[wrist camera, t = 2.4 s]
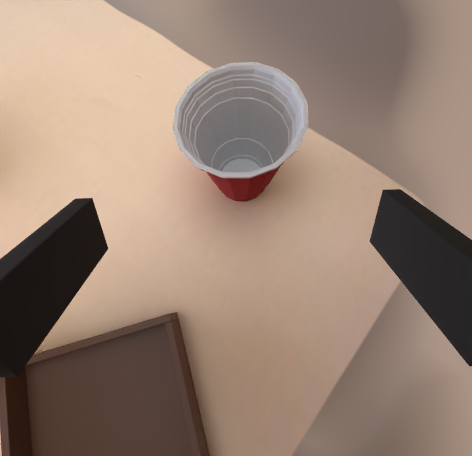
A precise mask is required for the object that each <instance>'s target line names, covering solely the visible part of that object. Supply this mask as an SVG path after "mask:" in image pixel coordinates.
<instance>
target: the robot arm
mask: <svg viewBox="0 0 472 456" xmlns="http://www.w3.org/2000/svg"><path fill="white" fill-rule="evenodd" d="M370 242H371V244H372V245H373V246H374V247H375V249H376V250H377V251H378V252H379V254H380V255H381V256H382V257H383V259H384V260H385V261H386V262H387V264H388V265H389V266H390V267H391V269H392V270H393V271H394V272H395V274H396V275H397V276H398V277H399V279H400V280H401V281H402V282H403V284H404V285H405V286H406V287H407V289H408V290H409V291H410V293H411V294H412V295H413V296H414V297H415V299H416V300H417V301H418V303H419V304H420V305H421V306H422V307H423V309H424V310H425V311H426V312H427V314H428V315H429V316H430V317H431V319H432V320H433V321H434V323H435V324H436V325H437V326H438V328H439V329H440V330H441V331H442V332H443V334H444V335H445V336H446V337H447V339H448V340H449V341H450V342H451V344H452V345H453V346H454V347H455V349H456V350H457V351H458V353H459V354H460V355H461V356H462V358H463V359H464V360H465V361H466V363H467V364H468V365H469V366H472V240H471V239H469V238H468V237H467V236H465V235H464V234H462V233H461V232H460V231H458V230H457V229H455V228H454V227H453V226H451V225H450V224H448V223H447V222H445V221H444V220H443V219H441V218H440V217H438V216H437V215H436V214H434V213H433V212H431V211H430V210H429V209H427V208H426V207H424V206H423V205H421V204H420V203H419V202H417V201H416V200H414V199H413V198H412V197H410V196H409V195H407V194H406V193H405V192H403V191H402V190H400V189H396V190H383V192H382V196H381V200H380V204H379V207H378V211H377V215H376V219H375V223H374V227H373V231H372V235H371V238H370ZM107 250H108V246H107V243H106V240H105V237H104V234H103V231H102V227H101V224H100V221H99V218H98V215H97V212H96V208H95V205H94V202H93V199H92V198H83V199H74V200H73V201H72V202H71V203H70V204H68V205H67V206H66V207H65V208H63V209H62V210H61V211H60V212H58V213H57V214H56V215H55V216H53V217H52V218H51V219H50V220H48V221H47V222H46V223H45V224H43V225H42V226H41V227H40V228H38V229H37V230H36V231H35V232H33V233H32V234H31V235H30V236H28V237H27V238H26V239H25V240H24V241H22V242H21V243H20V244H19V245H17V246H16V247H15V248H14V249H12V250H11V251H10V252H9V253H7V254H6V255H5V256H4V257H2V258H1V259H0V377H18V375H19V374H20V373H21V371H22V370H23V368H24V367H25V366H26V364H27V363H28V361H29V360H30V358H31V357H32V356H33V354H34V353H35V351H36V350H37V349H38V347H39V346H40V344H41V343H42V342H43V340H44V339H45V337H46V336H47V334H48V333H49V332H50V330H51V329H52V327H53V326H54V325H55V323H56V322H57V320H58V319H59V317H60V316H61V315H62V313H63V312H64V310H65V309H66V308H67V306H68V305H69V303H70V302H71V301H72V299H73V298H74V296H75V295H76V293H77V292H78V291H79V289H80V288H81V286H82V285H83V284H84V282H85V281H86V279H87V278H88V277H89V275H90V274H91V272H92V271H93V269H94V268H95V267H96V265H97V264H98V262H99V261H100V260H101V258H102V257H103V255H104V254H105V252H106V251H107Z"/></svg>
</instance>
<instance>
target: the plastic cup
mask: <svg viewBox="0 0 472 456" xmlns="http://www.w3.org/2000/svg"><path fill="white" fill-rule="evenodd" d="M307 128H308V103H307V101H306V99H305V97H304V95H303V93H302V91H301V90H300V88H299V86H298V84H297V83H296V82H295V81H294V80H292V79H291V78H290V77H288V76H287V75H286V74H284V73H283V72H282V71H281V70H279V69H277V68H274V67H270V66H267V65H263V64H260V63H256V62H246V63H229V64H226V65H224V66H221V67H218V68H215V69H213V70H210V71H207V72H206V73H204V74H203V75H202V76H201V77H199V78H198V79H197V80H195V81H194V82H193V83H192V84H190V85H189V86H188V87H187V89H186V90H185V92H184V94H183V95H182V97H181V99H180V100H179V102H178V103H177V105H176V108H175V116H174V123H173V131H174V134H175V137H176V140H177V143H178V146H179V149H180V150H181V151H182V152H183V153H184V155H185V156H186V157H187V158H188V159H189V160H190V161H191V162H192V163H193V164H194V165H195V166H196V167H197V168H199V169H201V170H204V171H206V172H207V173H208V175H209V176H210V177H211V179H212V180H213V181H214V183H215V184H216V185H217V186H218V188H219V189H220V190H221V191H222V192H223V193H224V194H225V195H226V196H227V197H229V198H231V199H233V200H235V201H248V200H251V199H253V198H256V197H257V196H258V195H259V194H260V193H261V192H263V190H264V189H265V187H266V186H267V185H268V184H269V183H270V181H271V180H272V178H273V177H274V175H275V174H276V172H277V170H278V169H279V167H280V166H281V165H282V164H283V163H284V161H285V160H287V159H288V158H289V157H290V156H291V155H292V154H293V153H295V152H296V150H297V149H298V147H299V145H300V143H301V141H302V139H303V136H304V134H305V132H306V130H307Z"/></svg>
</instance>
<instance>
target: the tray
mask: <svg viewBox="0 0 472 456" xmlns="http://www.w3.org/2000/svg"><path fill="white" fill-rule="evenodd" d="M0 432H1V449H2V456H210V455H209V450H208V446H207V442H206V437H205V433H204V428H203V424H202V420H201V415H200V411H199V406H198V402H197V398H196V393H195V389H194V384H193V380H192V376H191V371H190V367H189V362H188V358H187V354H186V349H185V345H184V341H183V336H182V332H181V327H180V323H179V319H178V314H177V313H171V314H167V315H164V316H160V317H157V318H154V319H151V320H147V321H144V322H141V323H137V324H134V325H131V326H127V327H124V328H121V329H118V330H114V331H111V332H108V333H104V334H101V335H98V336H95V337H91V338H88V339H85V340H81V341H78V342H75V343H72V344H68V345H65V346H62V347H58V348H55V349H52V350H49V351H45V352H42V353H39V354H35V355H33V356H32V357H31V358H30V360H29V361H28V363H27V364H26V366H25V367H24V368H23V370H22V371H21V373H20V374H19V375H18V377H0Z"/></svg>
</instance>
